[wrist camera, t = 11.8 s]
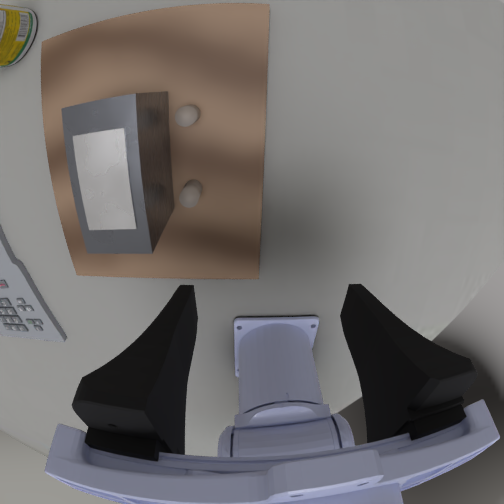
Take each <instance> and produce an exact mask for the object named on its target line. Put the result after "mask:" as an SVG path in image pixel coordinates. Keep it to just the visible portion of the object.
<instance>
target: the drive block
mask: <svg viewBox="0 0 504 504" xmlns="http://www.w3.org/2000/svg"><path fill="white" fill-rule="evenodd" d="M61 111H62V123H63V133H64V142H65V149H66V157H67V163H68V170H69V176H70V181H71V187H72V192H73V197H74V202H75V206H76V211H77V215H78V219H79V224H80V228H81V232H82V236H83V239H84V243H85V247H86V250H87V254H153V252H154V250H155V247H156V245H157V243H158V241H159V239H160V237H161V235H162V233H163V231H164V228H165V226H166V224H167V222H168V220H169V218H170V216H171V214H172V212H173V210H174V208H175V204H174V193H173V180H172V166H171V150H170V130H169V98H168V91H163V92H148V93H136V94H129V95H123V96H117V97H111V98H106V99H100V100H95V101H91V102H86V103H82V104H77V105H73V106H69V107H65V108H61Z"/></svg>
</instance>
